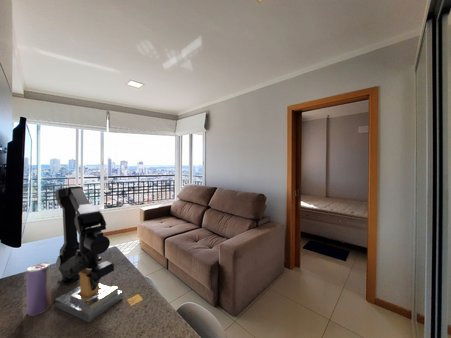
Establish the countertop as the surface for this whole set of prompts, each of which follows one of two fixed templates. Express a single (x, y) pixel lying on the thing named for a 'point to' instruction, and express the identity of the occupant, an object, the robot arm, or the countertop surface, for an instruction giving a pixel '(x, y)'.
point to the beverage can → (38, 288)
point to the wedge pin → (86, 284)
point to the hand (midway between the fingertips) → (89, 288)
